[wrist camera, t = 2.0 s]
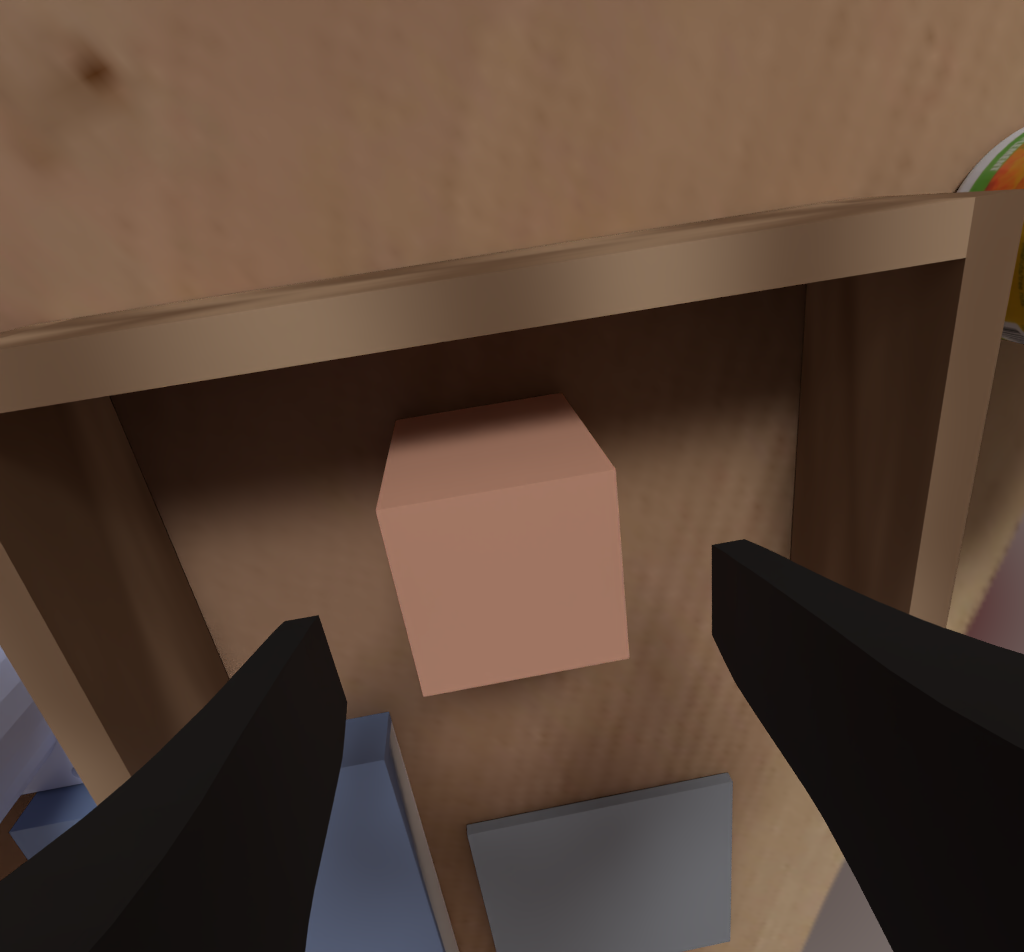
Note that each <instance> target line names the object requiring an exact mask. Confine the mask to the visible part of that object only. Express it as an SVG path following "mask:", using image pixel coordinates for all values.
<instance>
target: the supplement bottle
mask: <svg viewBox="0 0 1024 952" xmlns="http://www.w3.org/2000/svg"><path fill="white" fill-rule="evenodd" d="M1013 189H1024V128H1022V129H1020V130H1018V131H1016V132H1015V133H1013V134H1012V135H1010V136H1009V137H1007V138H1006V139H1004V140H1003V141H1001V142H1000V143H999V144H998V145H997V146H995V147H994V148H993V149H992V150H991V151H990V152H988V153H987V154H986V155H985V156H984V157H983V158H982V159H981V160H980V161H979V163H978V164H977V165H976V166H975V167H974V168H973V169H972V171H971V172H970V173H969V174H968V176H967V177H966V179H965V180H964V181H963V183H962V184H961V186H960V187H959V189H958V190H957V192H956V193H958V192H976V191H994V190H1013ZM1001 339H1003V340H1008V341H1012V342H1016V343H1021V344H1024V222H1023V227H1022V232H1021V238H1020V243H1019V248H1018V253H1017V259H1016V264H1015V269H1014V274H1013V279H1012V285H1011V290H1010V295H1009V300H1008V306H1007V311H1006V316H1005V321H1004V327H1003V332H1002V337H1001Z"/></svg>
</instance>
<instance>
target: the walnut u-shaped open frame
mask: <svg viewBox="0 0 1024 952" xmlns="http://www.w3.org/2000/svg"><path fill="white" fill-rule="evenodd" d="M1023 222H1024V189H1013V190H994V191H976V192H958V193H940V194H922V195H904V196H885V197H867V198H849V199H843V200H837V201H830V202H824V203H817V204H811V205H804V206H798V207H791V208H785V209H778V210H772V211H765V212H759V213H752V214H746V215H739V216H733V217H726V218H720V219H714V220H707V221H701V222H694V223H688V224H681V225H675V226H668V227H662V228H655V229H649V230H642V231H636V232H629V233H623V234H616V235H610V236H603V237H597V238H591V239H584V240H578V241H571V242H565V243H558V244H552V245H545V246H539V247H532V248H526V249H519V250H513V251H506V252H500V253H493V254H487V255H480V256H474V257H468V258H461V259H455V260H448V261H442V262H435V263H429V264H422V265H416V266H409V267H403V268H396V269H390V270H383V271H377V272H370V273H364V274H357V275H351V276H344V277H338V278H332V279H325V280H319V281H312V282H306V283H299V284H293V285H286V286H280V287H273V288H267V289H260V290H254V291H247V292H241V293H234V294H228V295H221V296H215V297H209V298H202V299H196V300H189V301H183V302H176V303H170V304H163V305H157V306H150V307H144V308H137V309H131V310H124V311H118V312H111V313H105V314H98V315H92V316H86V317H79V318H73V319H66V320H60V321H53V322H47V323H40V324H34V325H29V326H25V327H21V328H17V329H14V330H10V331H6V332H2V333H0V646H1V648H2V649H3V651H4V653H5V654H6V656H7V658H8V659H9V661H10V663H11V664H12V666H13V668H14V669H15V671H16V673H17V674H18V676H19V677H20V679H21V681H22V682H23V684H24V686H25V687H26V689H27V691H28V692H29V694H30V696H31V697H32V699H33V701H34V702H35V704H36V706H37V707H38V709H39V711H40V712H41V714H42V715H43V717H44V719H45V720H46V722H47V724H48V725H49V727H50V729H51V730H52V732H53V734H54V735H55V737H56V739H57V740H58V742H59V744H60V745H61V747H62V749H63V750H64V752H65V753H66V755H67V757H68V758H69V760H70V762H71V763H72V765H73V767H74V768H75V770H76V772H77V773H78V775H79V777H80V778H81V780H82V782H83V783H84V785H85V787H86V788H87V790H88V791H89V793H90V795H91V796H92V798H93V800H94V801H95V803H96V805H97V806H98V805H99V804H100V803H101V802H102V801H104V800H105V799H106V798H107V797H108V796H109V795H111V794H112V793H113V792H114V791H115V790H116V789H118V788H119V787H120V786H121V785H122V784H124V783H125V782H126V781H127V780H128V779H129V778H130V777H131V776H133V775H134V774H135V773H136V772H137V771H138V770H139V769H140V768H141V767H143V766H144V765H145V764H146V763H147V762H148V761H149V760H150V759H151V758H152V757H153V756H154V755H156V754H157V753H158V752H159V751H160V750H161V749H162V748H163V747H164V746H165V745H166V744H167V743H168V742H169V741H170V740H171V739H172V738H173V737H174V736H175V735H176V734H177V733H178V732H179V731H180V730H181V729H182V728H183V727H184V726H185V725H186V724H187V723H188V722H189V721H190V720H191V719H192V718H193V717H194V716H195V715H196V714H197V713H198V712H199V711H200V710H201V709H202V708H203V707H204V706H205V705H206V704H207V703H208V702H209V701H210V700H211V699H212V698H213V697H214V696H215V695H216V694H217V693H218V691H219V690H220V689H221V688H222V687H223V686H224V685H225V684H226V683H227V681H228V679H229V678H228V676H227V673H226V671H225V669H224V666H223V664H222V662H221V659H220V657H219V654H218V652H217V650H216V647H215V645H214V643H213V640H212V638H211V636H210V633H209V631H208V629H207V626H206V624H205V621H204V619H203V617H202V614H201V612H200V610H199V607H198V605H197V603H196V600H195V598H194V596H193V593H192V591H191V588H190V586H189V584H188V581H187V579H186V577H185V574H184V572H183V570H182V567H181V565H180V563H179V560H178V558H177V555H176V553H175V551H174V548H173V546H172V544H171V541H170V539H169V537H168V534H167V532H166V530H165V527H164V525H163V522H162V520H161V518H160V515H159V513H158V511H157V508H156V506H155V504H154V501H153V499H152V496H151V494H150V492H149V489H148V487H147V485H146V482H145V480H144V478H143V475H142V473H141V471H140V468H139V466H138V463H137V461H136V459H135V456H134V454H133V452H132V449H131V447H130V445H129V442H128V440H127V438H126V435H125V433H124V430H123V428H122V426H121V423H120V421H119V419H118V416H117V414H116V412H115V409H114V407H113V405H112V402H111V400H110V397H109V396H110V395H117V394H123V393H129V392H135V391H141V390H148V389H154V388H160V387H166V386H173V385H179V384H185V383H191V382H197V381H204V380H210V379H216V378H222V377H228V376H235V375H241V374H247V373H253V372H259V371H266V370H272V369H278V368H284V367H290V366H297V365H303V364H309V363H315V362H322V361H328V360H334V359H340V358H346V357H353V356H359V355H365V354H371V353H377V352H384V351H390V350H396V349H402V348H408V347H415V346H421V345H427V344H433V343H440V342H446V341H452V340H458V339H464V338H471V337H477V336H483V335H489V334H495V333H502V332H508V331H514V330H520V329H526V328H533V327H539V326H545V325H551V324H557V323H564V322H570V321H576V320H582V319H589V318H595V317H601V316H607V315H613V314H620V313H626V312H632V311H638V310H644V309H651V308H657V307H663V306H669V305H675V304H682V303H688V302H694V301H700V300H707V299H713V298H719V297H725V296H731V295H738V294H744V293H750V292H756V291H762V290H769V289H775V288H781V287H787V286H793V285H800V284H806V283H807V288H806V305H805V322H804V339H803V356H802V373H801V390H800V407H799V425H798V442H797V459H796V476H795V493H794V510H793V527H792V544H791V561H793V562H795V563H797V564H799V565H801V566H803V567H805V568H807V569H809V570H811V571H813V572H815V573H817V574H820V575H822V576H824V577H826V578H828V579H830V580H832V581H834V582H836V583H838V584H841V585H843V586H845V587H847V588H849V589H851V590H854V591H856V592H858V593H860V594H863V595H865V596H867V597H869V598H872V599H874V600H876V601H878V602H881V603H883V604H886V605H888V606H890V607H893V608H895V609H898V610H900V611H902V612H905V613H907V614H910V615H912V616H914V617H917V618H919V619H922V620H925V621H927V622H930V623H933V624H935V625H938V626H940V627H943V628H946V625H947V620H948V614H949V609H950V604H951V599H952V593H953V588H954V583H955V578H956V572H957V567H958V562H959V557H960V552H961V546H962V541H963V536H964V531H965V525H966V520H967V515H968V510H969V504H970V499H971V494H972V489H973V484H974V478H975V473H976V468H977V463H978V457H979V452H980V447H981V442H982V436H983V431H984V426H985V421H986V416H987V410H988V405H989V400H990V395H991V389H992V384H993V379H994V374H995V368H996V363H997V358H998V353H999V347H1000V342H1001V337H1002V332H1003V327H1004V321H1005V316H1006V311H1007V306H1008V300H1009V295H1010V290H1011V285H1012V279H1013V274H1014V269H1015V264H1016V259H1017V253H1018V248H1019V243H1020V238H1021V232H1022V227H1023Z"/></svg>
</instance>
